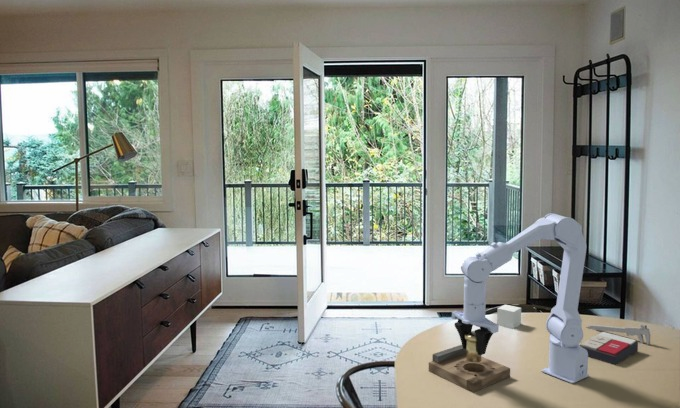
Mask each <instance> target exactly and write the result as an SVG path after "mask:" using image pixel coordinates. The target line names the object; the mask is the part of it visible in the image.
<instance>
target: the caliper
mask: <svg viewBox="0 0 680 408" xmlns="http://www.w3.org/2000/svg"><path fill="white" fill-rule="evenodd" d="M585 327H586V328H588V329H590V330H594V331H601V332H614V333H621V334H622V333H623V334H626V336H631V337H634V336H637V338H638V340H639V343H640V344H642V343H643V344H645V342H646V345H647V346H648V345H651V331H650V328H648V326H647V325H646V324H645V325H643V324H640V327H635V326H626V327H618V326H610V325H609V326H608V325H599V324H598V325H597V324H590V325H588V326H585ZM644 337H645V340H644Z"/></svg>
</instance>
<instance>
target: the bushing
mask: <svg viewBox="0 0 680 408" xmlns="http://www.w3.org/2000/svg"><path fill="white" fill-rule="evenodd" d="M465 339H466V359H467V360H468V361H469V362H480V361H481V356H482V355H478V347H477V338H476V334H475V330H471V331H469V332H466V333H465Z"/></svg>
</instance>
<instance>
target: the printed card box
mask: <svg viewBox="0 0 680 408" xmlns="http://www.w3.org/2000/svg"><path fill="white" fill-rule="evenodd" d="M579 345H580V346H581V347H582V348H584V349H586V350H587V352H588V358H591V359H593V360H597V361H600V362H603V363H607V364H610V365H613V366H617V365H618V364H621V363H622V362H624V361H625V360H626V359H628V358H630V357H631V356H634V355H635V353H636V354H637V353H638V351H639V350H638V349H639V348H638V347H639V346H638V345H639V341H638V340H636V339H632V338H628V337H625V336H621V335H617V334H613V333H609V332H607V331H601V332H599V333H597V334H595V335H594V336H592V337H590V338H589V339H587V340H585V341H583V342H582V343H580V344H579Z"/></svg>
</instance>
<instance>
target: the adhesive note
mask: <svg viewBox="0 0 680 408" xmlns="http://www.w3.org/2000/svg"><path fill="white" fill-rule="evenodd" d="M496 314H497V315H496V316H497V317H496V318H497V319H496V324H498V326H501V327H504V328H505V327H506V328H509V329H515V328H517V327H519V326H520V325H521V324H522V322H521V321H522V307H519V306H513V305H509V304H505V303H504V304H503V305H501V306H499V307H497V312H496Z"/></svg>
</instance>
